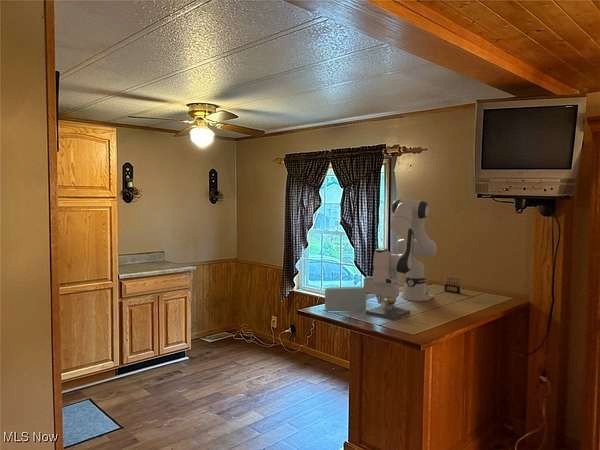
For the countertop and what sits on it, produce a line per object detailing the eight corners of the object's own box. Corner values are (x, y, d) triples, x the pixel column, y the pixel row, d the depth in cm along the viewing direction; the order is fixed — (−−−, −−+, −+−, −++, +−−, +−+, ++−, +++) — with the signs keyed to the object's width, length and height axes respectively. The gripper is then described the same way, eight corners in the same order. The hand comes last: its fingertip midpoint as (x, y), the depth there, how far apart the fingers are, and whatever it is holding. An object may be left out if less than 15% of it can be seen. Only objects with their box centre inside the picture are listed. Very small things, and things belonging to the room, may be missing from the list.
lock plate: (382, 308, 264) (382, 298, 264) (410, 313, 252) (410, 303, 252) (365, 314, 250) (366, 303, 250) (394, 320, 239) (394, 309, 238)
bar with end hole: (327, 312, 253) (327, 289, 252) (324, 310, 259) (325, 287, 258) (366, 311, 258) (366, 288, 257) (362, 308, 264) (363, 286, 263)
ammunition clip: (444, 291, 314) (444, 274, 314) (445, 291, 316) (445, 274, 315) (459, 293, 308) (460, 276, 307) (460, 293, 309) (460, 275, 309)
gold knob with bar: (382, 300, 256) (382, 293, 256) (397, 302, 252) (397, 295, 252) (374, 307, 240) (374, 300, 240) (390, 309, 236) (390, 301, 236)
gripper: (361, 276, 247) (360, 301, 247) (396, 281, 235) (395, 307, 236) (366, 275, 252) (366, 299, 253) (400, 279, 240) (400, 305, 241)
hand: (380, 303), depth 244 cm, fingers closed
